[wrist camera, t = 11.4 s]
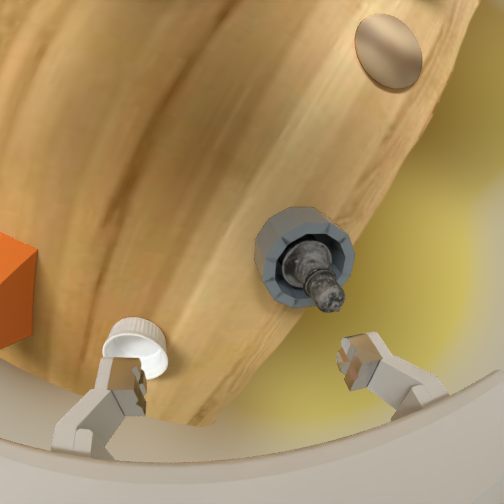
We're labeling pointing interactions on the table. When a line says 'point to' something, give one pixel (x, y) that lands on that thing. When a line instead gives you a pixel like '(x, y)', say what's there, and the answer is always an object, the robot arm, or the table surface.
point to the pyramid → (16, 289)
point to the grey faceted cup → (288, 230)
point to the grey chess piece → (312, 272)
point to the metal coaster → (388, 51)
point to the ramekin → (138, 344)
